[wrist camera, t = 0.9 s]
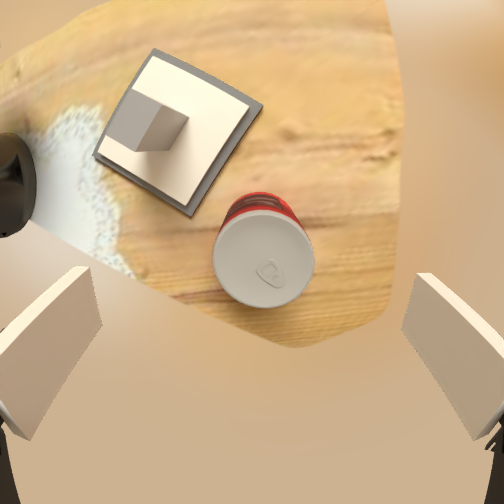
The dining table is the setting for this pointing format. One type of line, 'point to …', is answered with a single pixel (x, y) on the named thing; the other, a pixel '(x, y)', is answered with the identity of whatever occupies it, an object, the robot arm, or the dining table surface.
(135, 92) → the lid
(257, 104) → the mat
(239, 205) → the canned food
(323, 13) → the dining table surface
